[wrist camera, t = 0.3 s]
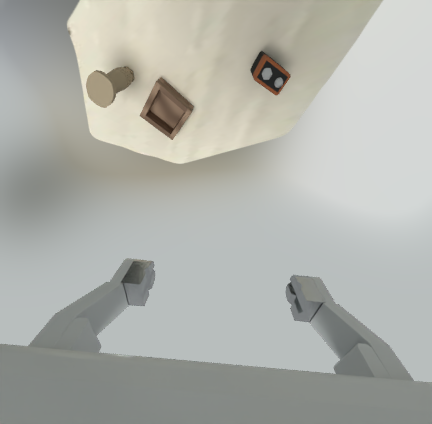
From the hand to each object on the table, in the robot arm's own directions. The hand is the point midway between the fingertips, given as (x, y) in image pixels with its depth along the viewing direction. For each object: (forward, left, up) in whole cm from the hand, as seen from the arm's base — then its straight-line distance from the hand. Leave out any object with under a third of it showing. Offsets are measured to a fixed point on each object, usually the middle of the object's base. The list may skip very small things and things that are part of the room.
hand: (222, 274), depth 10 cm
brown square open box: (+16, -7, -52) cm, 55 cm away
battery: (-8, +7, -52) cm, 53 cm away
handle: (+16, -19, -52) cm, 58 cm away
